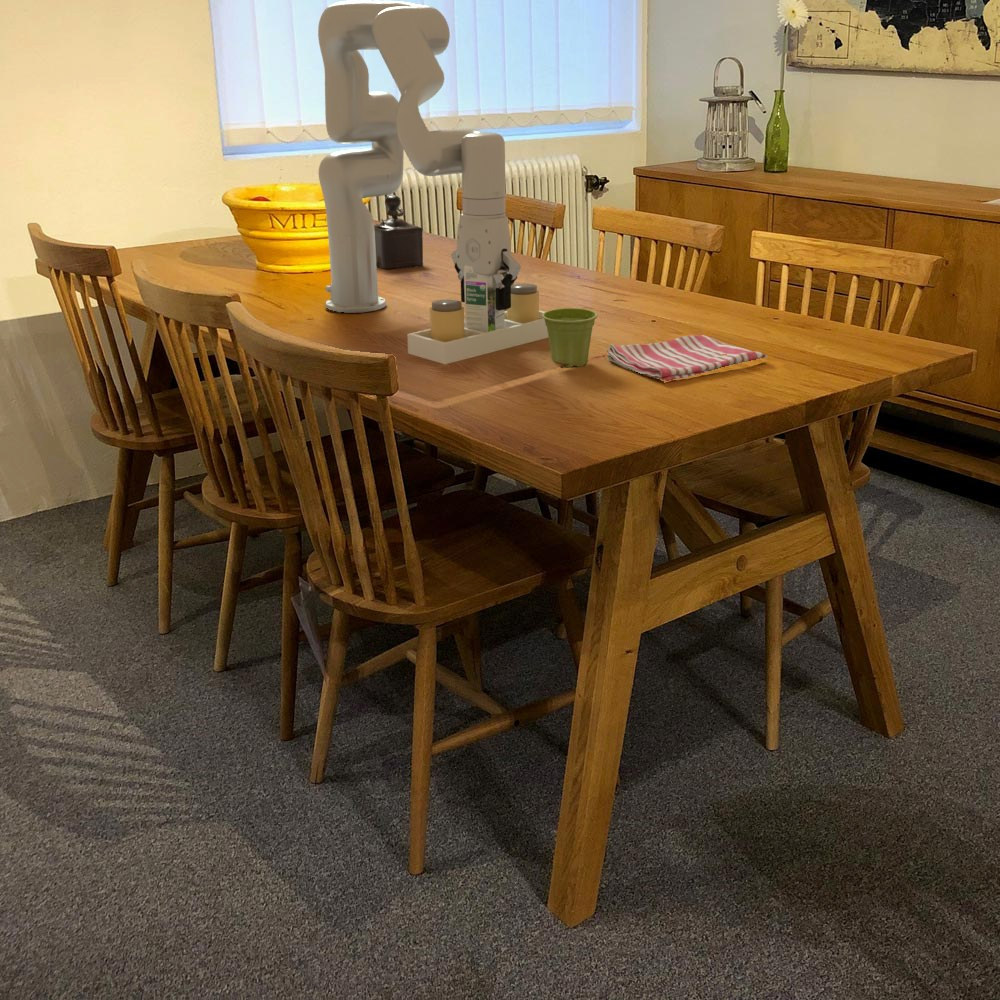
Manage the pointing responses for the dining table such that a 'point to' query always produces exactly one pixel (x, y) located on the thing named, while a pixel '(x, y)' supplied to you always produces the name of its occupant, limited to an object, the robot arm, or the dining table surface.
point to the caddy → (476, 341)
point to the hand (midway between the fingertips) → (485, 304)
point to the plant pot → (569, 334)
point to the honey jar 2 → (524, 303)
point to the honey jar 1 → (447, 320)
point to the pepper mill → (397, 239)
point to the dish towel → (679, 357)
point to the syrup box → (481, 302)
